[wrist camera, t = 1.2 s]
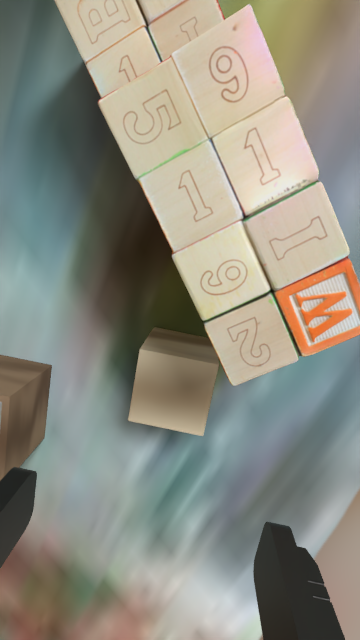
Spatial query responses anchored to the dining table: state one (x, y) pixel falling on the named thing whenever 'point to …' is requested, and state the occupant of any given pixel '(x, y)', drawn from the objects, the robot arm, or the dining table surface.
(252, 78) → the stack of blocks
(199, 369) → the birch block
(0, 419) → the tower mid
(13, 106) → the dining table surface
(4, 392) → the tower base
